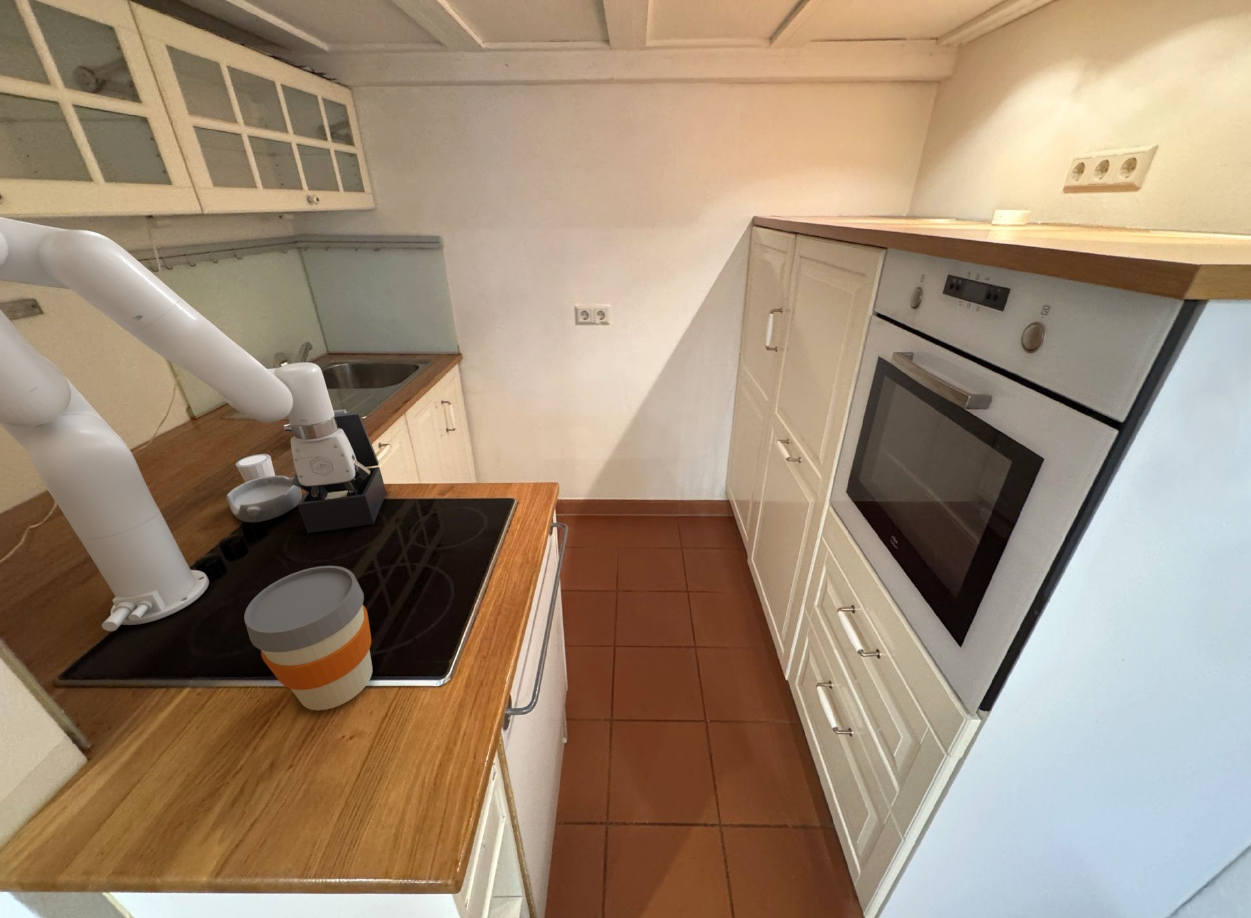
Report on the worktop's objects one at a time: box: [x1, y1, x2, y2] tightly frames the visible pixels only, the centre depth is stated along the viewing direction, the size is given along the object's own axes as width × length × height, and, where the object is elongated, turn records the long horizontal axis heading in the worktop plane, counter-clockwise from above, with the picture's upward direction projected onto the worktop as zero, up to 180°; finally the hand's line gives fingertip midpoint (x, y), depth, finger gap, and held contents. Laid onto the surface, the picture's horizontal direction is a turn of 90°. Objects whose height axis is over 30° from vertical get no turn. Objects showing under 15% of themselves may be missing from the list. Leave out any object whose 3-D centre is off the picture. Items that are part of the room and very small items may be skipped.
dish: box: [226, 475, 303, 523], centre depth 110 cm, size 14×14×5 cm
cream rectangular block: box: [325, 490, 348, 499], centre depth 104 cm, size 5×5×3 cm
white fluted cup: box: [235, 453, 276, 483], centre depth 119 cm, size 7×7×7 cm
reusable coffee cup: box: [243, 565, 373, 711], centre depth 65 cm, size 13×13×15 cm
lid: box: [333, 409, 380, 468], centre depth 108 cm, size 14×13×5 cm
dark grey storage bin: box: [296, 466, 388, 534], centre depth 107 cm, size 14×13×7 cm
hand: (341, 507), depth 104 cm, fingers closed on cream rectangular block, 4 cm apart
